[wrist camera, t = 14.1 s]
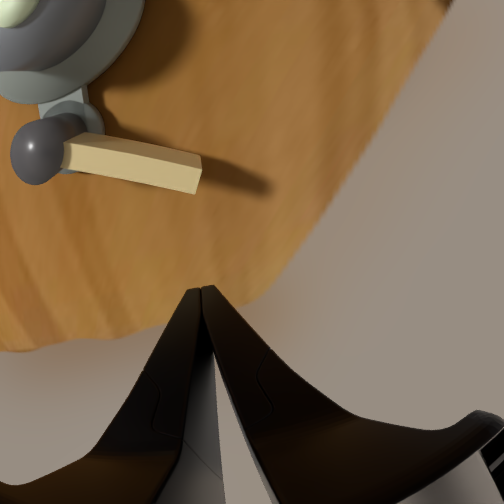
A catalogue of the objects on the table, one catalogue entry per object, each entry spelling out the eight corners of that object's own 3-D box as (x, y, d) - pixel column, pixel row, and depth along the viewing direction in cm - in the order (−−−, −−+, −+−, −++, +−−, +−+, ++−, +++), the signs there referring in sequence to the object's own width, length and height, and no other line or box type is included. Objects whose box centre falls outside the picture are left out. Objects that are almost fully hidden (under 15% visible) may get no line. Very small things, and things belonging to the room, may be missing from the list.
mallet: (41, 160, 13) (8, 180, 9) (48, 110, 11) (13, 119, 8) (189, 188, 16) (190, 215, 13) (204, 138, 14) (208, 152, 11)
